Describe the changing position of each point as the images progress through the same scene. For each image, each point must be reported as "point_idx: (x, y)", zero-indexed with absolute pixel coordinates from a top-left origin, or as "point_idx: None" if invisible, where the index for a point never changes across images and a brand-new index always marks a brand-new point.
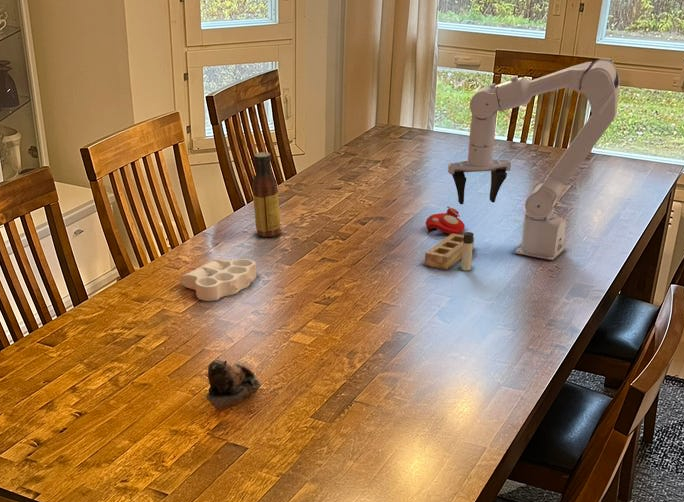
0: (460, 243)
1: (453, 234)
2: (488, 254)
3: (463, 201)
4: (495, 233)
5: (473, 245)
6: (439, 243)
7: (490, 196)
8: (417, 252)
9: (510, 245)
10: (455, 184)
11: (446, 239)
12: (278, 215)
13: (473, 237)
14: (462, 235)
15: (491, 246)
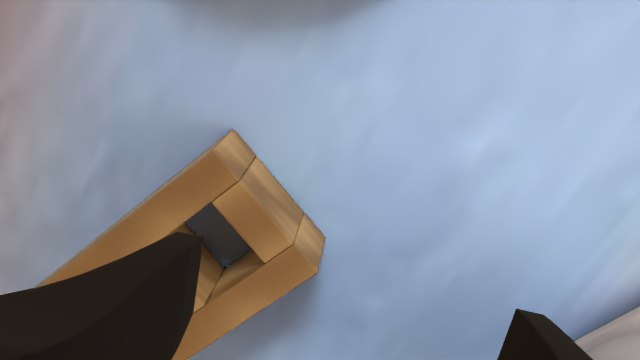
0: (194, 320)
1: (211, 174)
2: (370, 326)
3: (179, 337)
4: (612, 50)
5: (322, 249)
6: (72, 273)
7: (519, 350)
8: (8, 149)
9: (564, 268)
10: (42, 287)
11: (135, 232)
12: None
13: (313, 271)
14: (260, 214)
15: (450, 237)
